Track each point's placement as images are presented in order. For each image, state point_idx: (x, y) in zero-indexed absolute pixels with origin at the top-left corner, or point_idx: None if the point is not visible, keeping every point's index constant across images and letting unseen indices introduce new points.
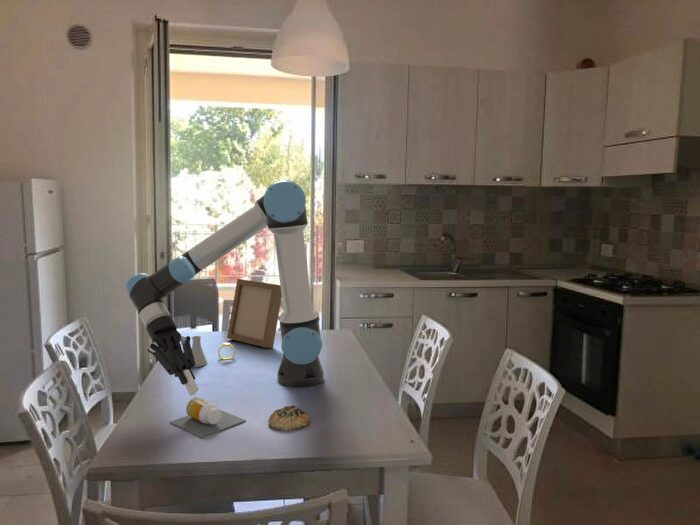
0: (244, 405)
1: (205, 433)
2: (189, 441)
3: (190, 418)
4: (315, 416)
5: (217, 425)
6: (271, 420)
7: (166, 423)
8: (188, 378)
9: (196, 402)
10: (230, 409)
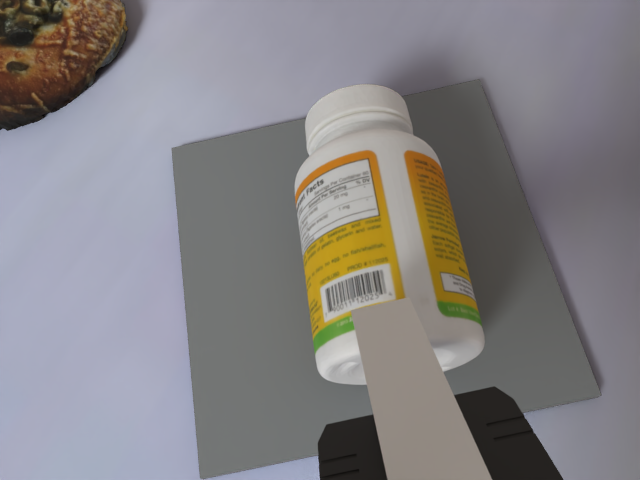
0: (10, 386)
1: (445, 106)
2: (551, 88)
3: None
4: None
5: None
6: (103, 19)
7: (620, 408)
8: (443, 381)
9: (424, 239)
10: (124, 376)
